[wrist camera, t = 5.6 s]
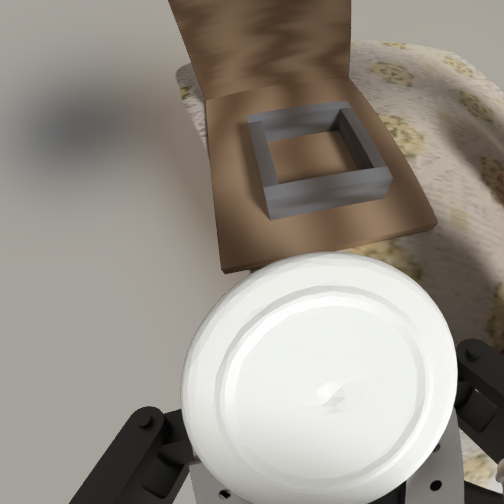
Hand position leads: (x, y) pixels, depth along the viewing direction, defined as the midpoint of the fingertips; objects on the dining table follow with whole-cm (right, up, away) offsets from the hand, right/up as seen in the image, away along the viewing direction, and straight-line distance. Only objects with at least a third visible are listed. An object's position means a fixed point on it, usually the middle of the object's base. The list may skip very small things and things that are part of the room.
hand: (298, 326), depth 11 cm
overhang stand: (+2, +13, +11) cm, 17 cm away
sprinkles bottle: (+1, -4, +5) cm, 7 cm away
